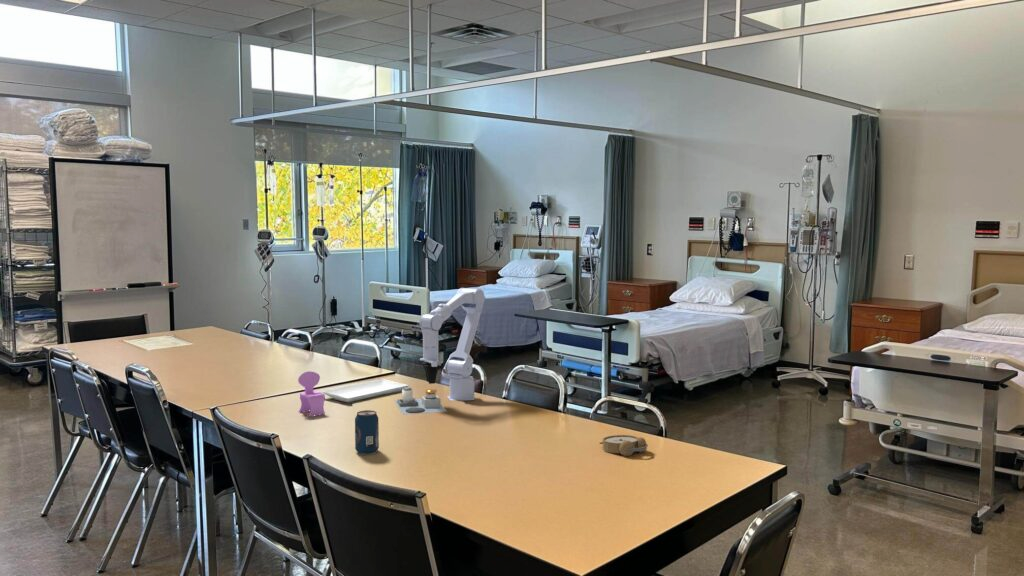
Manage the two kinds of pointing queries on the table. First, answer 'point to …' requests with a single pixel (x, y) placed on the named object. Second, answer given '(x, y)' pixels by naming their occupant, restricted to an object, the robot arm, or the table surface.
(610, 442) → the alarm clock
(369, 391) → the tray
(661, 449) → the table surface
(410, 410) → the rubber pad
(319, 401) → the toy chair
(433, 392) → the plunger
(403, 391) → the cartridge
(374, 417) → the soda can
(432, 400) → the panel
